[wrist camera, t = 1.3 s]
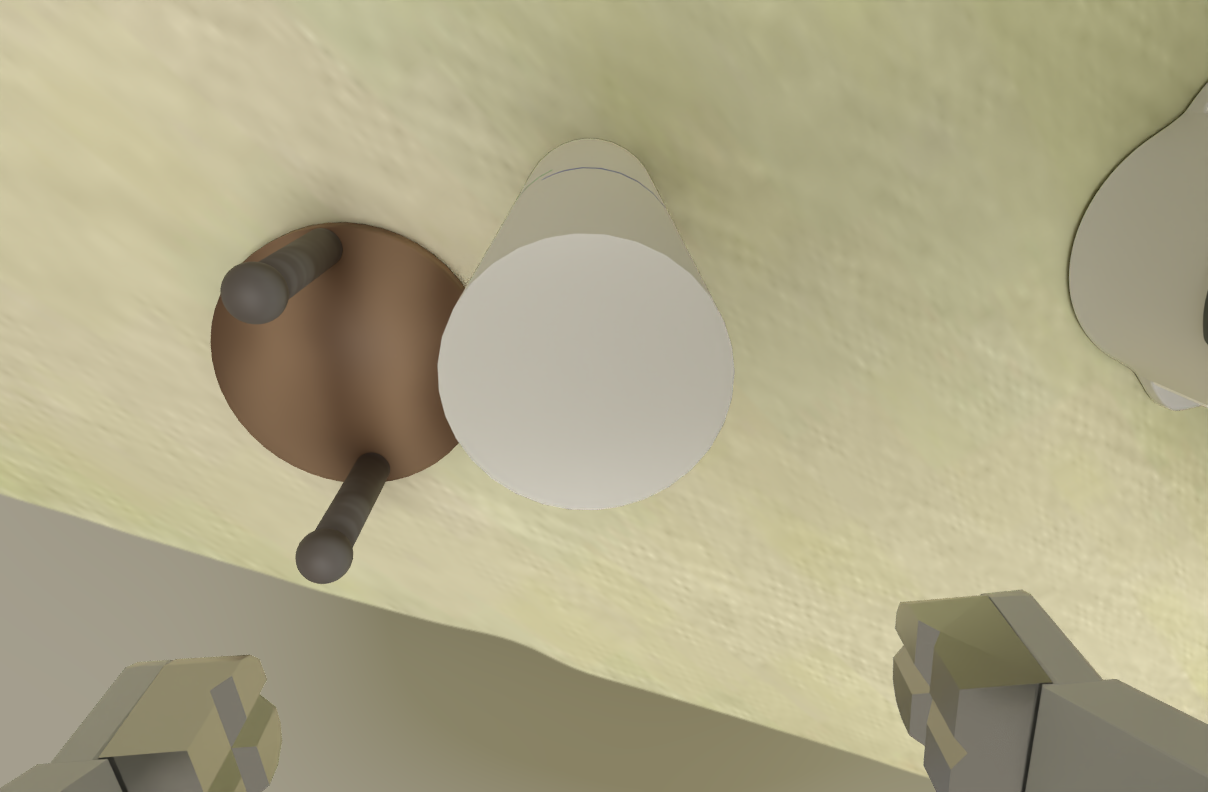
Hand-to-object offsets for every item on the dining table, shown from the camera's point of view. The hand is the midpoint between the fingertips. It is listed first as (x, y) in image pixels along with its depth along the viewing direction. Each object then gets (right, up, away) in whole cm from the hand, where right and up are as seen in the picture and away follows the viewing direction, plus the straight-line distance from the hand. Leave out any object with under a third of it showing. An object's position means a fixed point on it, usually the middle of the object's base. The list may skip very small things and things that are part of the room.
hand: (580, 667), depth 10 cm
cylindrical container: (0, +14, +32) cm, 35 cm away
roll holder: (-14, +6, +35) cm, 38 cm away
